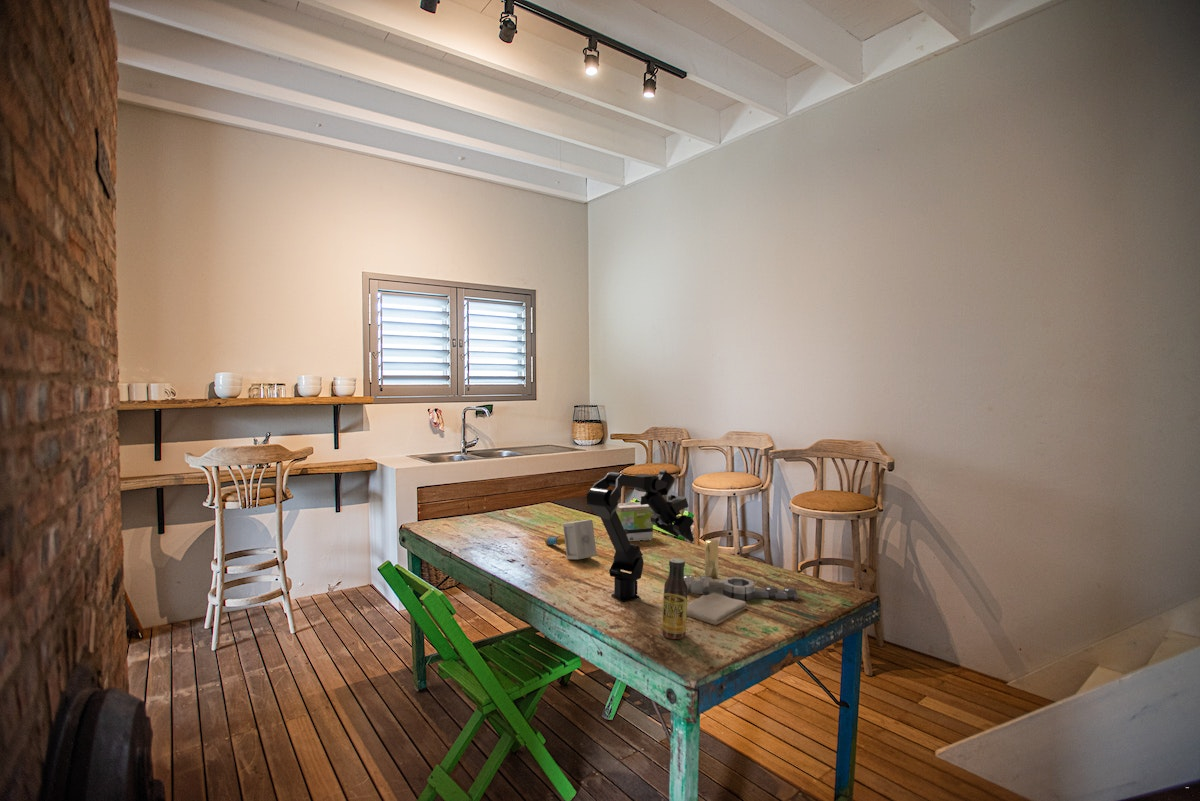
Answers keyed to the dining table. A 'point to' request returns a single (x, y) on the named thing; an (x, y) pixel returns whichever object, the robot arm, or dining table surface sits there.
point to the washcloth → (714, 608)
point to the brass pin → (711, 558)
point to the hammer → (577, 539)
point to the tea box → (636, 520)
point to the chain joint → (736, 588)
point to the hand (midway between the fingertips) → (685, 538)
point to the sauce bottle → (675, 601)
